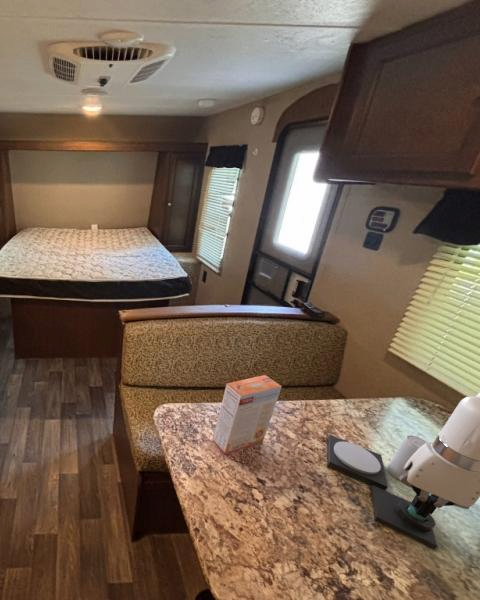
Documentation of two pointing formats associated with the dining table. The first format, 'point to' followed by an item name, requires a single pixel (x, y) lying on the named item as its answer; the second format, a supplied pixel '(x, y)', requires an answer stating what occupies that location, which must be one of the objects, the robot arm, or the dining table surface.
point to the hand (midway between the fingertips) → (419, 510)
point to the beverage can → (404, 455)
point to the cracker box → (245, 413)
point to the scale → (356, 462)
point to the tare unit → (401, 517)
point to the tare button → (416, 516)
